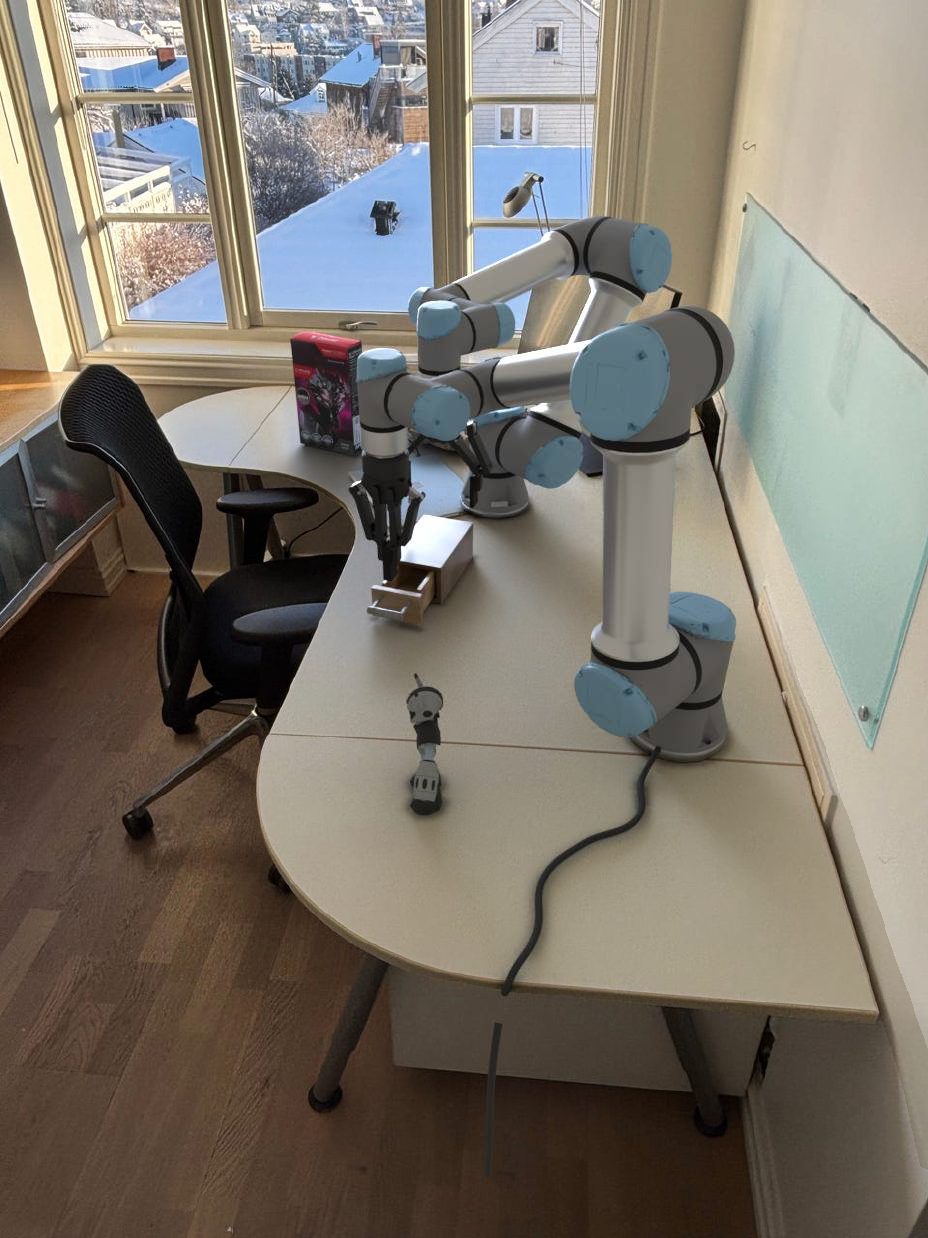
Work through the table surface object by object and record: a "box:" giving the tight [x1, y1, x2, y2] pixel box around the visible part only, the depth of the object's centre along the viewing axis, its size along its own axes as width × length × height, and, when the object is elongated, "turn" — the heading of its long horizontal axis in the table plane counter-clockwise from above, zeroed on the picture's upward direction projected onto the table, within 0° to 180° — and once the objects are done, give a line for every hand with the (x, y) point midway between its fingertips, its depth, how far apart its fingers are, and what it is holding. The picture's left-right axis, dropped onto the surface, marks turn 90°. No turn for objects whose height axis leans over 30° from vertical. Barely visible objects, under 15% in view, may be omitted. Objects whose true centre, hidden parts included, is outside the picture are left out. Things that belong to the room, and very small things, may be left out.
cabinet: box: [398, 514, 474, 605], centre depth 179 cm, size 19×10×8 cm, turn 161°
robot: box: [405, 673, 444, 816], centre depth 125 cm, size 20×5×20 cm, turn 3°
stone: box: [408, 429, 469, 452], centre depth 233 cm, size 21×15×6 cm
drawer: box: [366, 564, 437, 626], centre depth 169 cm, size 23×9×6 cm, turn 161°
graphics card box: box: [289, 330, 363, 456], centre depth 225 cm, size 17×7×27 cm, turn 62°
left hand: (440, 499), depth 177 cm, fingers open, 13 cm apart
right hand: (390, 576), depth 159 cm, fingers closed
